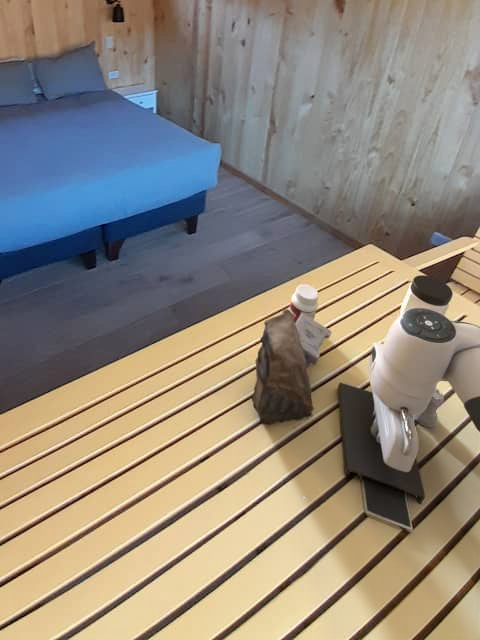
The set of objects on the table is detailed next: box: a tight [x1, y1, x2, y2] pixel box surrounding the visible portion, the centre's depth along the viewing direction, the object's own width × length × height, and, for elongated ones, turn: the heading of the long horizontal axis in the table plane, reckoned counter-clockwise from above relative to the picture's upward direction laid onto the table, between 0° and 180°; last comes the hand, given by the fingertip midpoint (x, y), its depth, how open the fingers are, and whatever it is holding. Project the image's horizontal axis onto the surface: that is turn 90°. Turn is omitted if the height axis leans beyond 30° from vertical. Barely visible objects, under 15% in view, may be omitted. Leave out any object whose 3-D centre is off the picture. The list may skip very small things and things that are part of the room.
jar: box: [399, 274, 454, 316], centre depth 103 cm, size 9×8×12 cm
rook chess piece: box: [412, 388, 445, 428], centre depth 82 cm, size 4×4×8 cm
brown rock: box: [251, 308, 315, 426], centre depth 84 cm, size 13×13×20 cm
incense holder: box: [295, 314, 332, 370], centre depth 93 cm, size 10×8×10 cm
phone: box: [359, 475, 414, 534], centre depth 74 cm, size 7×15×1 cm, turn 158°
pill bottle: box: [288, 284, 319, 323], centre depth 103 cm, size 6×6×11 cm
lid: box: [336, 382, 426, 505], centre depth 78 cm, size 12×18×6 cm, turn 158°
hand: (379, 430), depth 78 cm, fingers closed on lid, 2 cm apart
